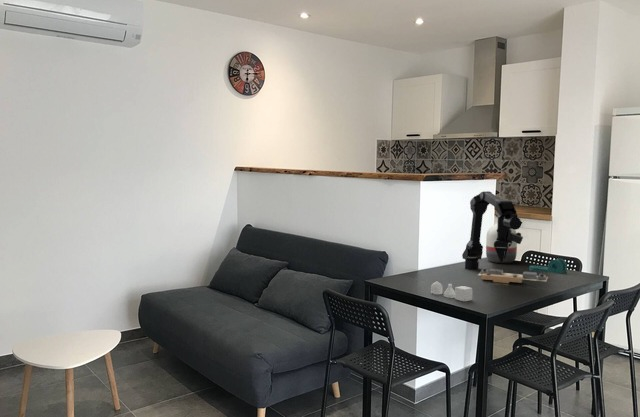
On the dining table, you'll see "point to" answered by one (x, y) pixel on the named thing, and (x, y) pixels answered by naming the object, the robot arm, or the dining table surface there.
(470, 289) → the container set
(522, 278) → the board
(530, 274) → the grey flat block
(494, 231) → the vase
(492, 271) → the lower chain end
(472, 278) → the dining table surface
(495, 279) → the master link
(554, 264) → the teal handled piece
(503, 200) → the robot arm
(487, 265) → the dining table surface
